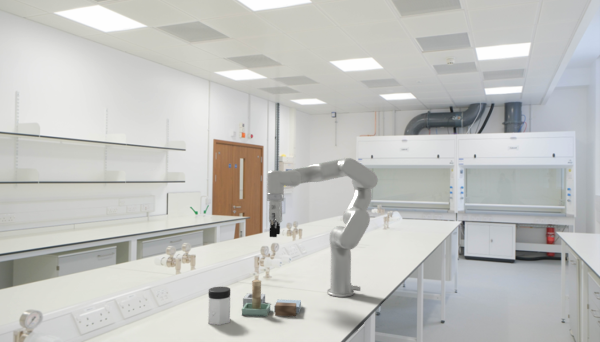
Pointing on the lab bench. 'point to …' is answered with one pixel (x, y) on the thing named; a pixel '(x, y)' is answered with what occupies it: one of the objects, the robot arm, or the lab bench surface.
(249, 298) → the socket block
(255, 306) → the dowel
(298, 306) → the board
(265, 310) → the tray
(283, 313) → the block
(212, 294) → the jar
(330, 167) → the robot arm
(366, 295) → the lab bench surface
